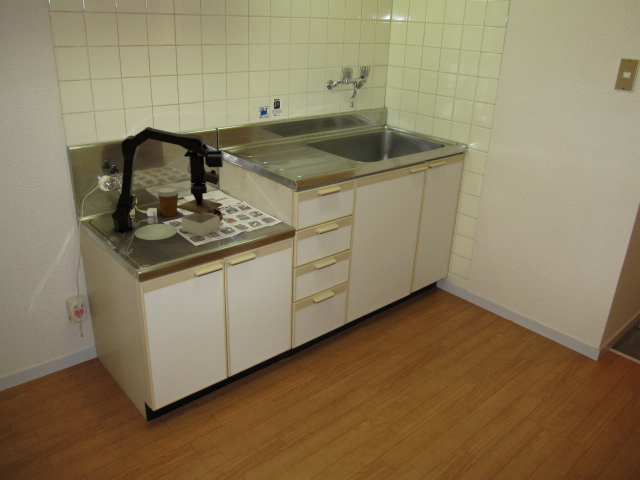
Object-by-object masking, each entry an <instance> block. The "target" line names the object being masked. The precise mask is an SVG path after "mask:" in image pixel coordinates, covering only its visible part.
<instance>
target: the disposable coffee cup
mask: <svg viewBox="0 0 640 480" xmlns="http://www.w3.org/2000/svg"><path fill="white" fill-rule="evenodd" d="M179 193H180V191H179V189H178V187H175V186H172V185H171V186H170V185H169V186H161V187H158V189H157V191H156V195H157V196H158V202H159V205H160V209H161V214H162V216H164V217H172V216H173V217H175V216H176V215H177V214H178V208H177V206H178V203H179V202H178V199H179Z"/></svg>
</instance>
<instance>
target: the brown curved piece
mask: <svg viewBox="0 0 640 480" xmlns="http://www.w3.org/2000/svg"><path fill="white" fill-rule="evenodd" d="M207 213H210V214H214V215H217V216H219V221H222V220H223V214H222V212H221V210H220V207H218V208H215V209H213V210H210V211H208V212H207Z"/></svg>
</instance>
